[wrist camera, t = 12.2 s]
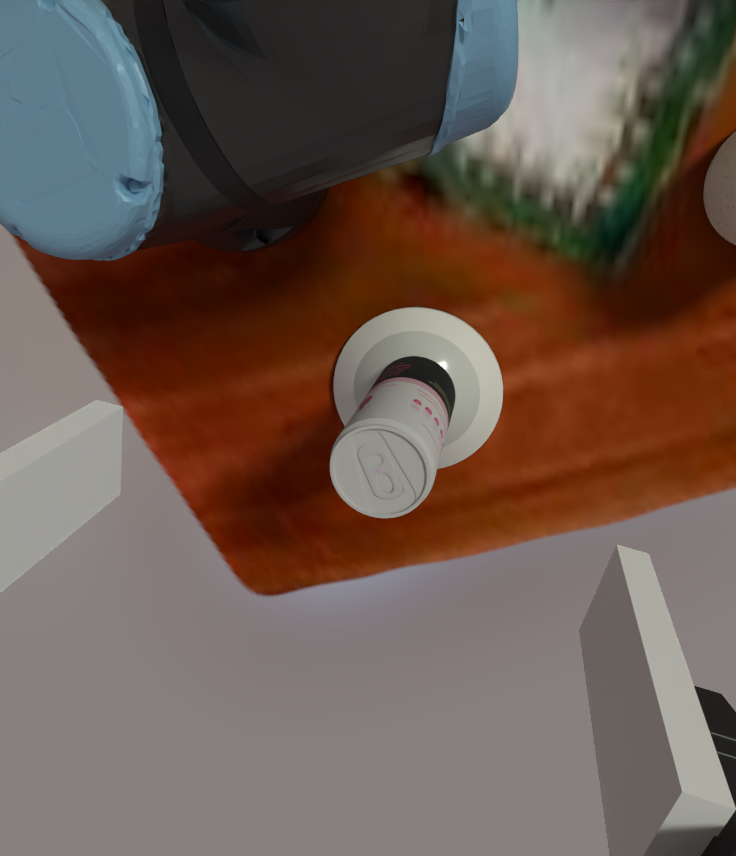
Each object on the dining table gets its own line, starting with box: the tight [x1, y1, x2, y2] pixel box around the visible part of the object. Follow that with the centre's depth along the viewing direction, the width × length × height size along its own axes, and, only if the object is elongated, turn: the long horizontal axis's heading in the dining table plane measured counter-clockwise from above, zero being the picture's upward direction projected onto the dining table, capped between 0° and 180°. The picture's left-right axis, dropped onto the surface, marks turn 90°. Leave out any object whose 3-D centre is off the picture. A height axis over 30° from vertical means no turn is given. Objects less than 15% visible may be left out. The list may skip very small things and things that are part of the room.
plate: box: [333, 307, 503, 469], centre depth 51 cm, size 14×14×1 cm
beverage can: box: [330, 356, 456, 518], centre depth 44 cm, size 7×7×15 cm
